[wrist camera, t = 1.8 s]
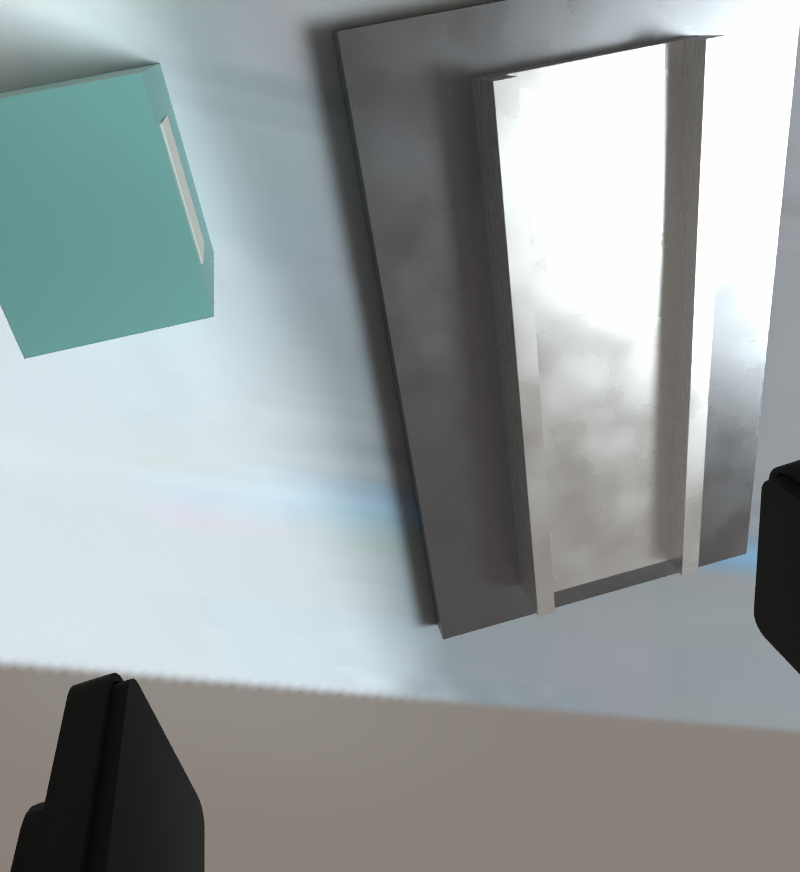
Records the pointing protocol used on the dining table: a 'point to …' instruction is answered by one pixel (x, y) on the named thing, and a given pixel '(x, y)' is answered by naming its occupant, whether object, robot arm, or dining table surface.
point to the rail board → (574, 281)
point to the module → (98, 213)
